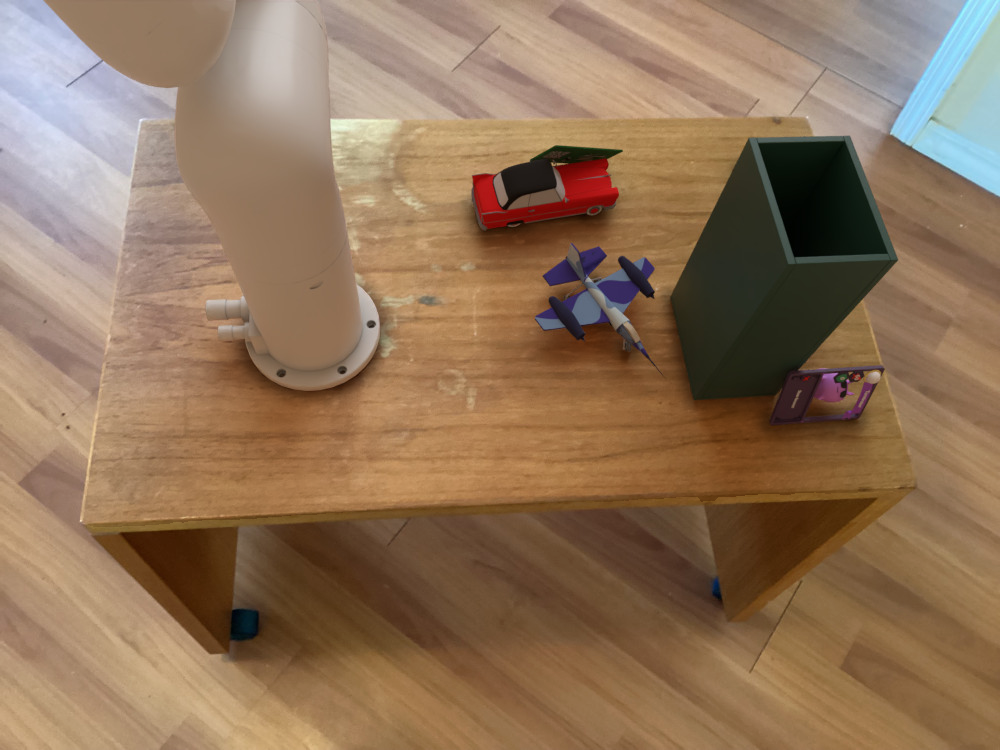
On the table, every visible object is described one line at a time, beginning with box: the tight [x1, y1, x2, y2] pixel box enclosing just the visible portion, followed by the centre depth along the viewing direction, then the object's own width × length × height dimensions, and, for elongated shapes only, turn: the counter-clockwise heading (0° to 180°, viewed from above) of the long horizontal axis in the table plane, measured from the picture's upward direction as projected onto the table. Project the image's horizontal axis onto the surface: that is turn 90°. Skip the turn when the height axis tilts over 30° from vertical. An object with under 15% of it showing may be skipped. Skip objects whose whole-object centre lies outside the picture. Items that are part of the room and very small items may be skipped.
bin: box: [669, 135, 899, 401], centre depth 67 cm, size 8×12×23 cm
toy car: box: [470, 158, 620, 232], centre depth 81 cm, size 6×15×5 cm, turn 103°
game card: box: [768, 364, 886, 426], centre depth 73 cm, size 7×5×9 cm
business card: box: [529, 144, 624, 164], centre depth 82 cm, size 9×1×5 cm
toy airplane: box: [534, 242, 666, 379], centre depth 76 cm, size 13×14×4 cm
